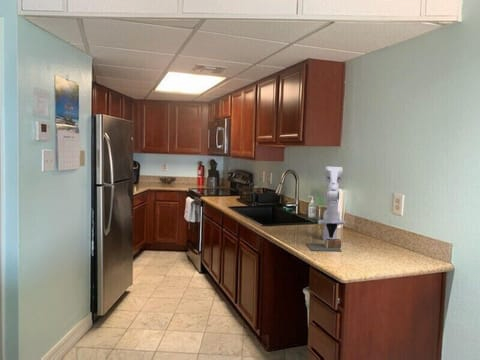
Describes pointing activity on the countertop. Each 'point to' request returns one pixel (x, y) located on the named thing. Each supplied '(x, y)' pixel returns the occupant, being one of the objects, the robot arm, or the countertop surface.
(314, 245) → the rubber mat
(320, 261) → the countertop surface
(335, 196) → the robot arm
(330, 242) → the walnut block
